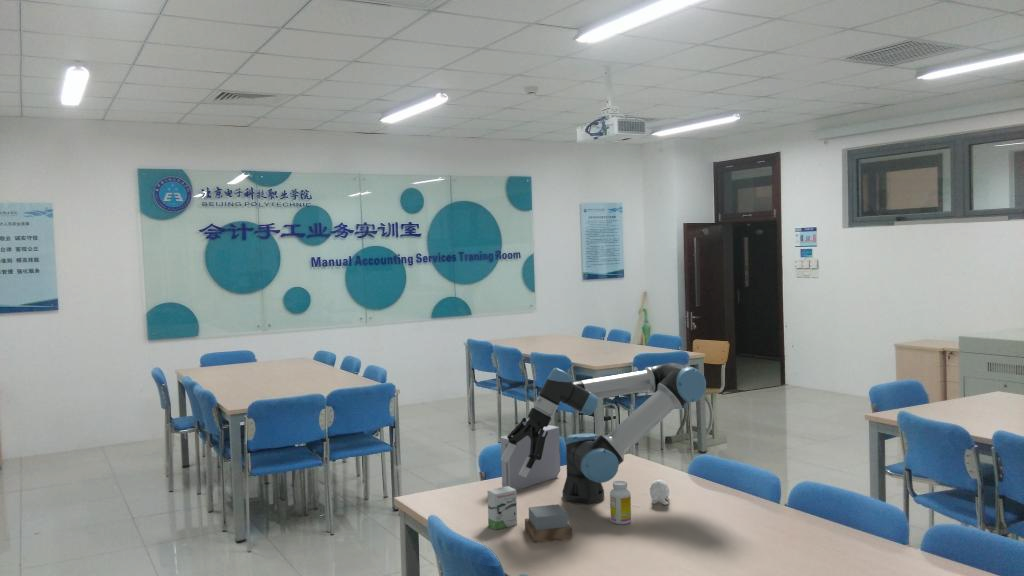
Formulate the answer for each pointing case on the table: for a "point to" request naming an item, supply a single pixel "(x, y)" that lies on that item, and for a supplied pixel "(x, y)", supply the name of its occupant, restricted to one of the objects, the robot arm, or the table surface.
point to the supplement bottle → (620, 503)
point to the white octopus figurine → (659, 492)
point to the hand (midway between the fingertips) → (512, 468)
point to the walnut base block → (547, 533)
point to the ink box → (502, 507)
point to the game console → (541, 468)
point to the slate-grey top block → (548, 517)
